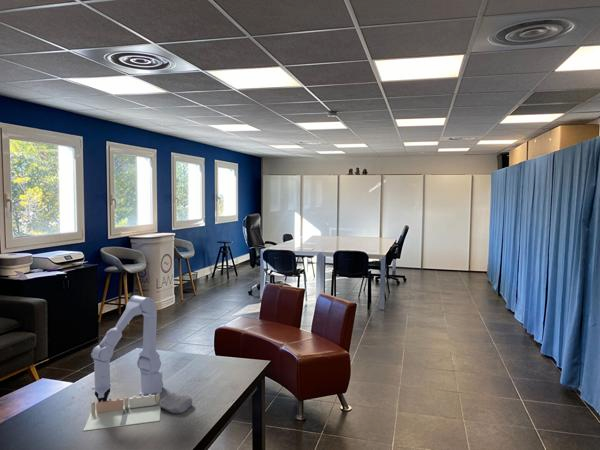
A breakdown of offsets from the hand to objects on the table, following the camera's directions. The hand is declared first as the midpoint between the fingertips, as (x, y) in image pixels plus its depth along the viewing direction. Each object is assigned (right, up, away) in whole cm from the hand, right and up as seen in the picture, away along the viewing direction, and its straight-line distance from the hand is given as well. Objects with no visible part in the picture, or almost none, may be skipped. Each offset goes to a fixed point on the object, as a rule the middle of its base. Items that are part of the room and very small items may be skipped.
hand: (102, 407), depth 173 cm
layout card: (+10, -2, -3) cm, 11 cm away
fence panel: (+2, -1, -1) cm, 3 cm away
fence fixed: (+15, -1, +3) cm, 15 cm away
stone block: (+28, -1, +3) cm, 29 cm away
